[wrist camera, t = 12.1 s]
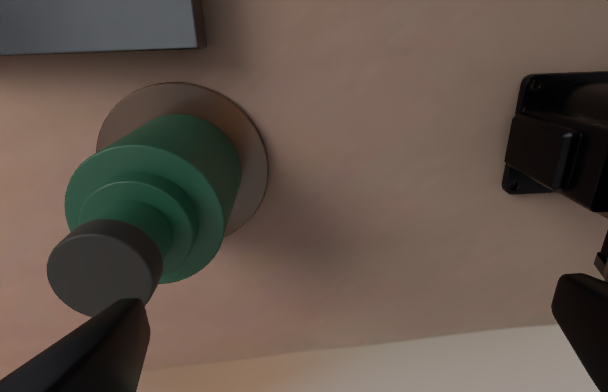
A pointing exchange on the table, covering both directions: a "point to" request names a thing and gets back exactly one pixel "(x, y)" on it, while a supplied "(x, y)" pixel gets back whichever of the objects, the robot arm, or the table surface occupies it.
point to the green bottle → (145, 212)
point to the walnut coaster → (211, 109)
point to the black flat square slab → (99, 26)
